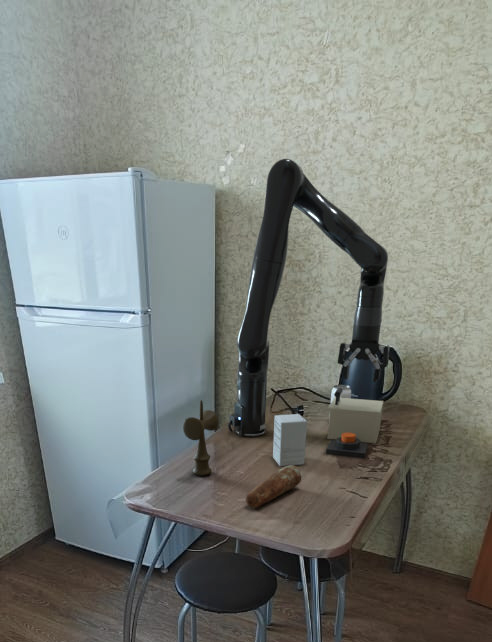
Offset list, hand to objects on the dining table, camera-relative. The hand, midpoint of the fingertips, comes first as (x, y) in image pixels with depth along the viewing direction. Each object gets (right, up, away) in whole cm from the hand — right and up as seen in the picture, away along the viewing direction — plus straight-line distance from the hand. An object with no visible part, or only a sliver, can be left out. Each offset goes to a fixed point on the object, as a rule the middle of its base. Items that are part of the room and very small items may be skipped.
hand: (360, 380), depth 171 cm
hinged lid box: (+1, -14, +13) cm, 19 cm away
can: (-1, -8, +26) cm, 27 cm away
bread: (-29, -37, -30) cm, 56 cm away
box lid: (+1, -6, +9) cm, 11 cm away
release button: (-4, -19, -2) cm, 19 cm away
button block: (-4, -21, -1) cm, 22 cm away
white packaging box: (-23, -25, -8) cm, 35 cm away
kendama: (-47, -30, -16) cm, 58 cm away
